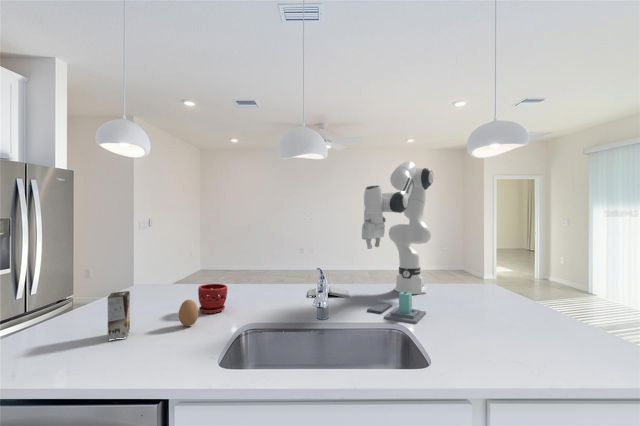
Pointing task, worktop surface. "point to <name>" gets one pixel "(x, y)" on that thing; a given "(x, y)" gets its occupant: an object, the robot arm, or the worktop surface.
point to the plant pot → (212, 297)
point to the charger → (405, 302)
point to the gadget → (331, 292)
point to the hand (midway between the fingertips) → (373, 247)
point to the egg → (188, 313)
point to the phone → (379, 308)
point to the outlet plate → (405, 316)
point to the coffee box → (118, 314)
